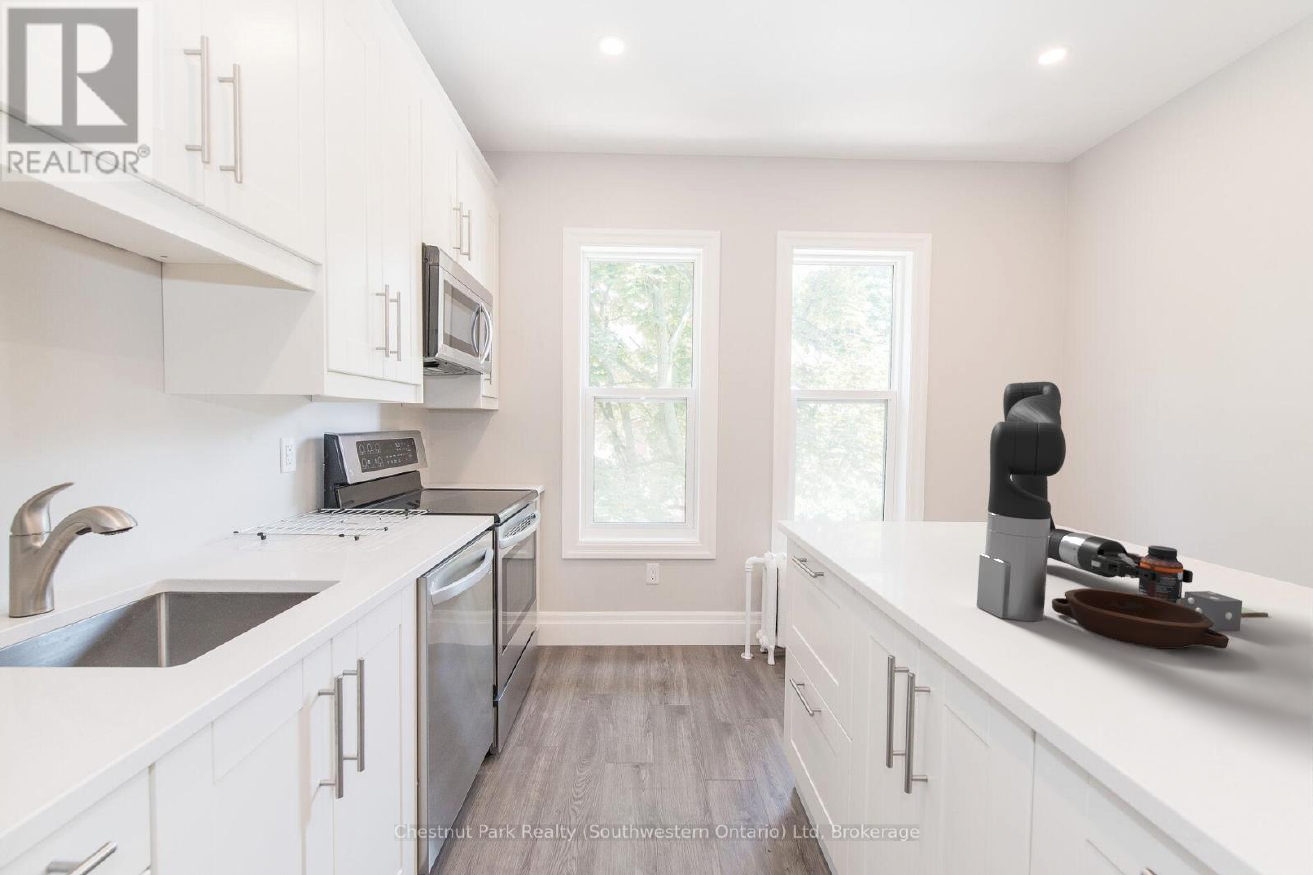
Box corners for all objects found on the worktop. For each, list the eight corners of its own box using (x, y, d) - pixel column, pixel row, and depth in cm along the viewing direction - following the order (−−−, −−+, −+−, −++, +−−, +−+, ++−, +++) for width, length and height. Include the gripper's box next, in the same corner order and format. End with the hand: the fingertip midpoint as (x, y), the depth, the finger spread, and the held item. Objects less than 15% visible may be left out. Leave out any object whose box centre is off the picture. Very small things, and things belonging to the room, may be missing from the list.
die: (1214, 631, 95) (1216, 600, 95) (1181, 620, 100) (1184, 590, 100) (1240, 630, 96) (1243, 600, 95) (1207, 619, 101) (1209, 590, 101)
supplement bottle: (1189, 615, 103) (1194, 552, 102) (1155, 614, 103) (1160, 551, 102) (1161, 604, 109) (1165, 544, 108) (1128, 602, 109) (1133, 543, 108)
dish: (1227, 675, 79) (1230, 639, 79) (1038, 628, 95) (1040, 598, 94) (1227, 641, 91) (1230, 610, 91) (1060, 605, 107) (1062, 578, 107)
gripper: (1062, 535, 118) (1141, 556, 102) (1123, 536, 120) (1211, 556, 104) (1059, 572, 119) (1138, 598, 102) (1121, 571, 121) (1208, 597, 104)
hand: (1174, 577), depth 103 cm, fingers closed on supplement bottle, 6 cm apart
